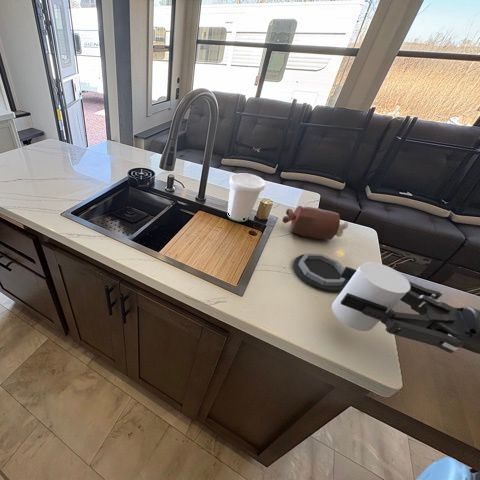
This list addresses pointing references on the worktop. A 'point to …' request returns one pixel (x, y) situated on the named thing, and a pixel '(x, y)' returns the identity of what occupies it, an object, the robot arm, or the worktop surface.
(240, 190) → the cup
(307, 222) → the meat
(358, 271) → the white cylinder
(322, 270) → the coaster
